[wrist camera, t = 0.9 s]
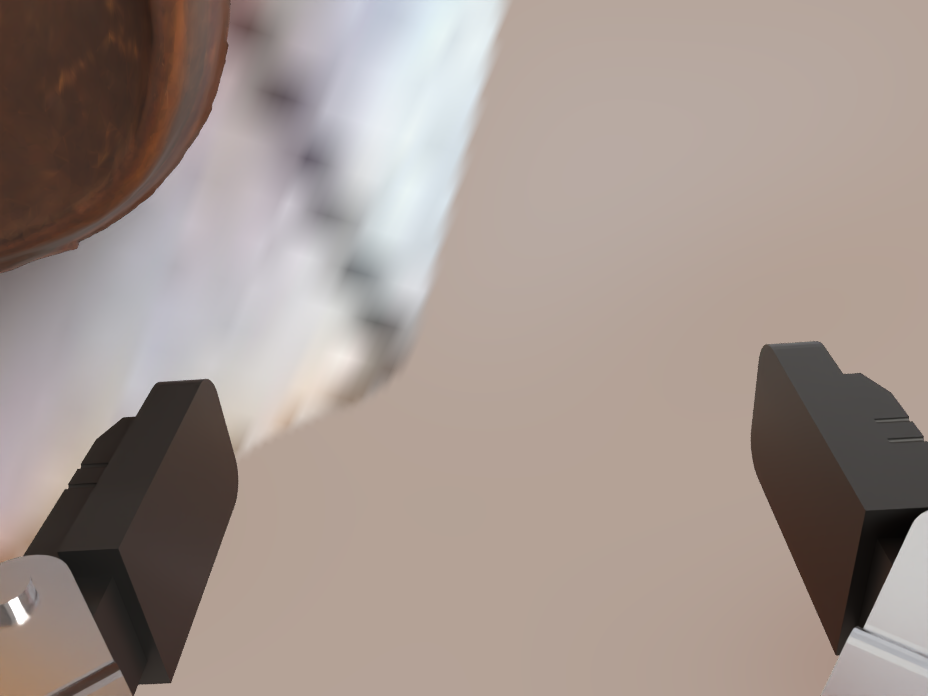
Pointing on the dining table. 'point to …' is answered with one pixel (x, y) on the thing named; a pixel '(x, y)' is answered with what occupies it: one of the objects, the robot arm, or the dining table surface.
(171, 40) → the brown round rimmed container
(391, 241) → the dining table surface
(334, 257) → the dining table surface
